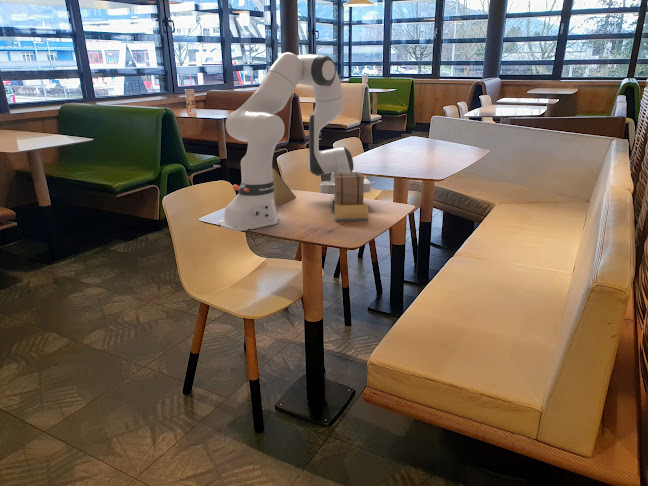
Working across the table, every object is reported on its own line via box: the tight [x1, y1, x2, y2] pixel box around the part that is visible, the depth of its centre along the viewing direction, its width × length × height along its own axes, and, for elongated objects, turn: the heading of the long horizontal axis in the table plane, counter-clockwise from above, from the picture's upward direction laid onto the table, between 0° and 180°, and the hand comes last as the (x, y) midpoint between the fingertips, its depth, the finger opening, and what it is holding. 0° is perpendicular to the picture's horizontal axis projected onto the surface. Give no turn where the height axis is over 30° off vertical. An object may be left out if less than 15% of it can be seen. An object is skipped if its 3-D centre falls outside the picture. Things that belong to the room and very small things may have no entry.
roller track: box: [330, 199, 369, 223], centre depth 188 cm, size 22×12×6 cm, turn 4°
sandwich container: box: [272, 168, 297, 206], centre depth 207 cm, size 9×15×15 cm, turn 149°
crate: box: [334, 171, 365, 204], centre depth 184 cm, size 8×10×12 cm
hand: (347, 191), depth 188 cm, fingers closed, pressing on crate
